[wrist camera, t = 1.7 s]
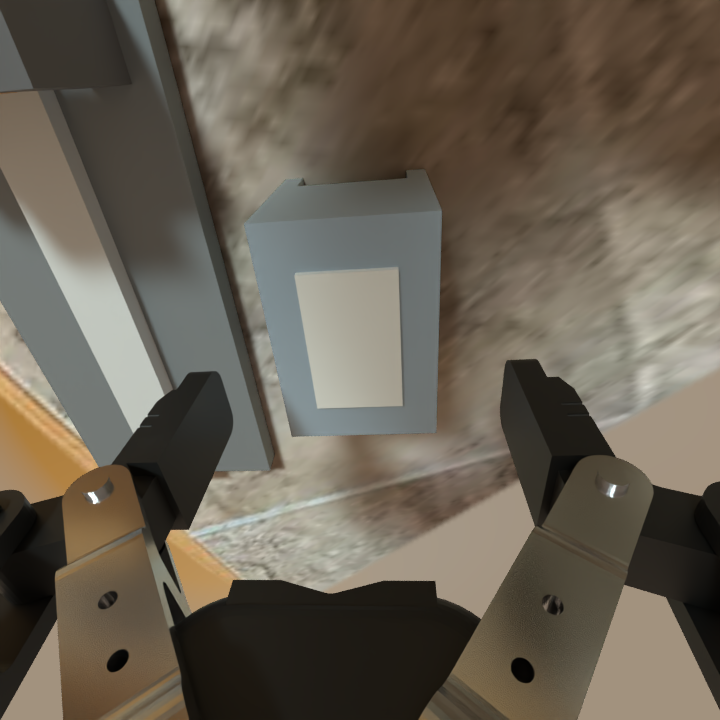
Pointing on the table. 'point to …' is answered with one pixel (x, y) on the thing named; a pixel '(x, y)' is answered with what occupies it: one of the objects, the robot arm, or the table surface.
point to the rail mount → (112, 225)
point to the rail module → (352, 302)
